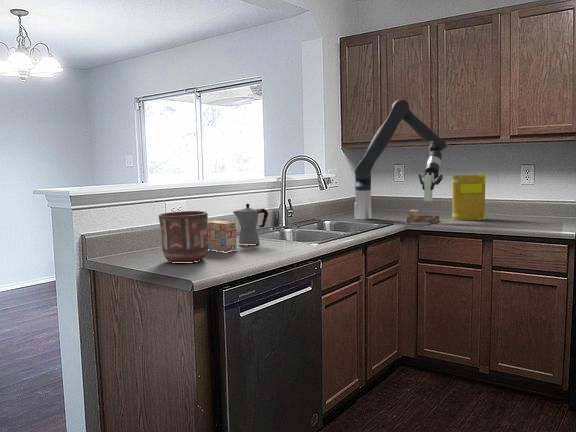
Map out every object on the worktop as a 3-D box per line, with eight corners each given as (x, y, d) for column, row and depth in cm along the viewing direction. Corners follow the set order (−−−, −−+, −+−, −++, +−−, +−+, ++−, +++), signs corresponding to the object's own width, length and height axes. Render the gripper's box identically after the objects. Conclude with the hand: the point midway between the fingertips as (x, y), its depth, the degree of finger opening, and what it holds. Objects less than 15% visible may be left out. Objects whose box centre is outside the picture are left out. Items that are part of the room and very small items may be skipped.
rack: (406, 222, 285) (406, 217, 285) (412, 220, 295) (412, 215, 295) (434, 223, 278) (434, 218, 277) (439, 220, 288) (439, 215, 288)
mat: (408, 224, 275) (408, 223, 275) (412, 223, 282) (412, 222, 282) (427, 225, 271) (427, 224, 271) (431, 223, 278) (431, 222, 278)
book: (481, 218, 294) (482, 174, 291) (485, 219, 287) (485, 174, 284) (451, 219, 295) (451, 175, 293) (453, 220, 289) (454, 175, 286)
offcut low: (408, 220, 286) (408, 215, 286) (412, 218, 294) (412, 214, 294) (415, 220, 284) (415, 215, 284) (419, 218, 292) (419, 214, 292)
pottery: (203, 255, 204) (200, 209, 202) (215, 262, 188) (212, 213, 186) (158, 260, 197) (154, 213, 195) (166, 268, 181) (162, 217, 179)
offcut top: (409, 215, 286) (409, 211, 285) (412, 214, 293) (412, 209, 293) (416, 215, 284) (416, 211, 284) (419, 214, 292) (419, 209, 291)
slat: (424, 201, 283) (424, 175, 282) (425, 200, 287) (426, 175, 285) (430, 201, 282) (431, 175, 280) (432, 200, 285) (432, 175, 283)
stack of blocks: (190, 249, 219) (189, 220, 218) (201, 247, 224) (200, 219, 223) (226, 253, 206) (225, 223, 205) (237, 251, 211) (236, 221, 210)
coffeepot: (233, 246, 222) (231, 205, 220) (234, 243, 231) (233, 203, 229) (269, 245, 222) (267, 203, 220) (269, 242, 232) (267, 202, 230)
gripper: (419, 161, 292) (413, 184, 282) (444, 161, 285) (439, 184, 276) (421, 171, 297) (415, 193, 288) (446, 171, 290) (441, 194, 281)
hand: (427, 189), depth 282 cm, fingers closed on slat, 3 cm apart
